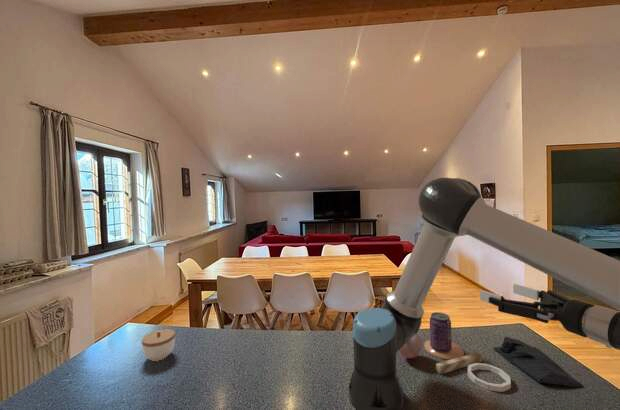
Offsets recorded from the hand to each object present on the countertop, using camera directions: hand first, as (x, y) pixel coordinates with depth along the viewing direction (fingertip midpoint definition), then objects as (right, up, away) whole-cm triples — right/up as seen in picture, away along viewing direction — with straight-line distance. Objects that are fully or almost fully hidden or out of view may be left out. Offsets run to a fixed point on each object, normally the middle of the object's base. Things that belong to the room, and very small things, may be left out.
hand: (497, 291), depth 82 cm
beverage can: (-7, -27, +20) cm, 35 cm away
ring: (0, -28, +4) cm, 28 cm away
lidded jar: (-110, -31, +21) cm, 116 cm away
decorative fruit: (-21, -28, +16) cm, 38 cm away
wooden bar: (-6, -28, +10) cm, 30 cm away
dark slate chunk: (+18, -28, +10) cm, 35 cm away
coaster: (-6, -28, +20) cm, 35 cm away
